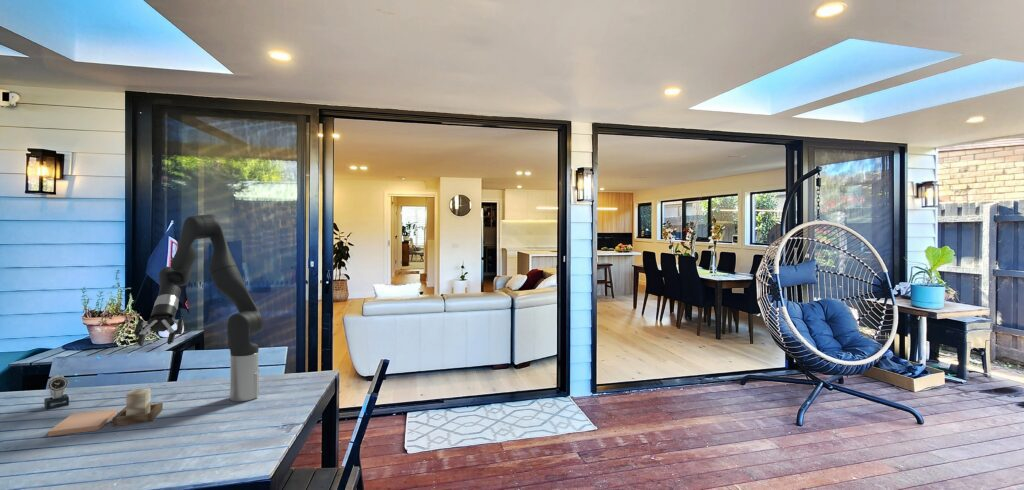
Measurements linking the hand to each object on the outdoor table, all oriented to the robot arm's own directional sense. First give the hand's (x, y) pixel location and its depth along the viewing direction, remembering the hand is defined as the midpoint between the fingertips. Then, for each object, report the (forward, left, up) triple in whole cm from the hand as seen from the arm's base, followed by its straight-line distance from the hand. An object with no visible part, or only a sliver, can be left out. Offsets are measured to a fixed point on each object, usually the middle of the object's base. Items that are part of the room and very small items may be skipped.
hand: (154, 344), depth 162 cm
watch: (+30, -6, -22) cm, 38 cm away
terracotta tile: (+14, +16, -21) cm, 30 cm away
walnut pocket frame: (0, +16, -21) cm, 27 cm away
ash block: (0, +16, -22) cm, 27 cm away
